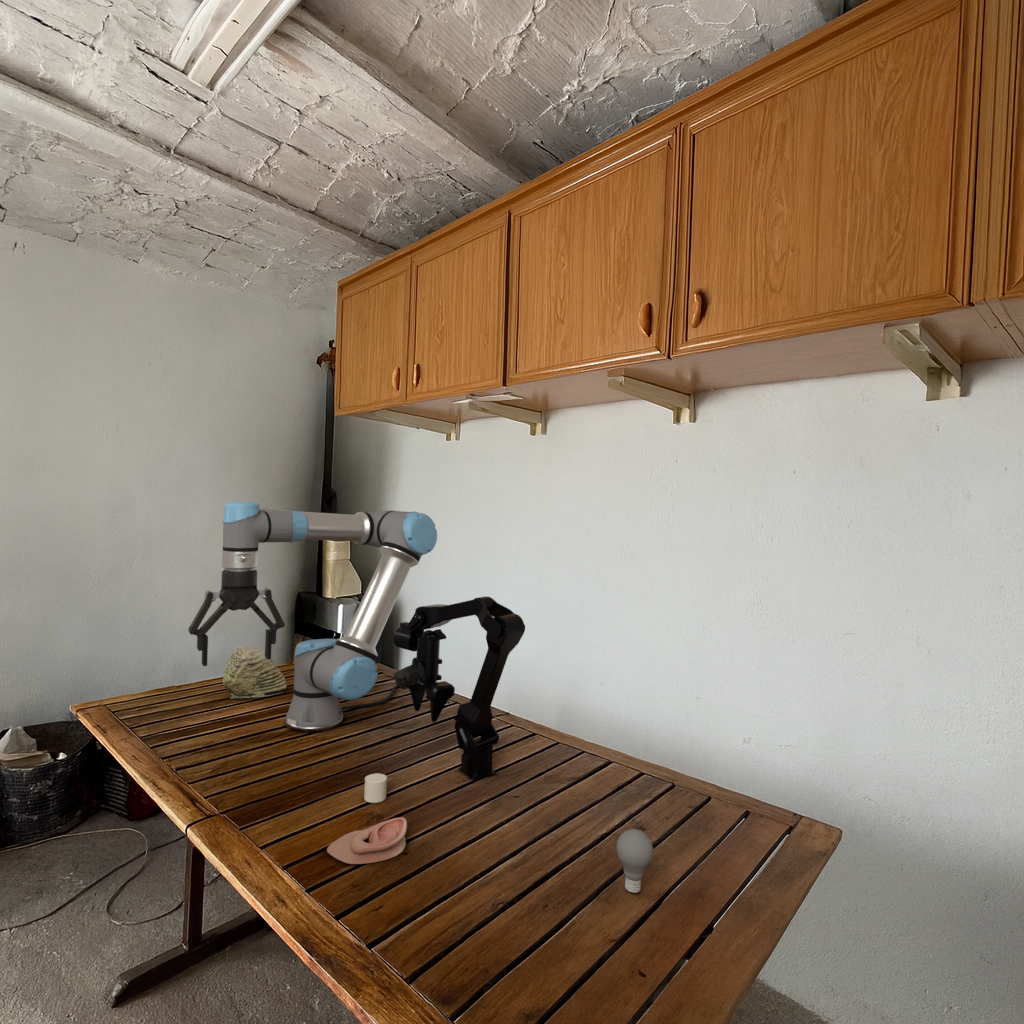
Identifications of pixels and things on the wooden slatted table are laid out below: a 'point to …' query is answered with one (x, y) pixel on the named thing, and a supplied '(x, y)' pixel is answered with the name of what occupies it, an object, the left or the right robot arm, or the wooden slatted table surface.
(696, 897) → the wooden slatted table surface
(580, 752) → the wooden slatted table surface
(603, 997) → the wooden slatted table surface
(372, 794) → the can
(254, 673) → the fossil
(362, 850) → the anatomical model
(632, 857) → the light bulb
